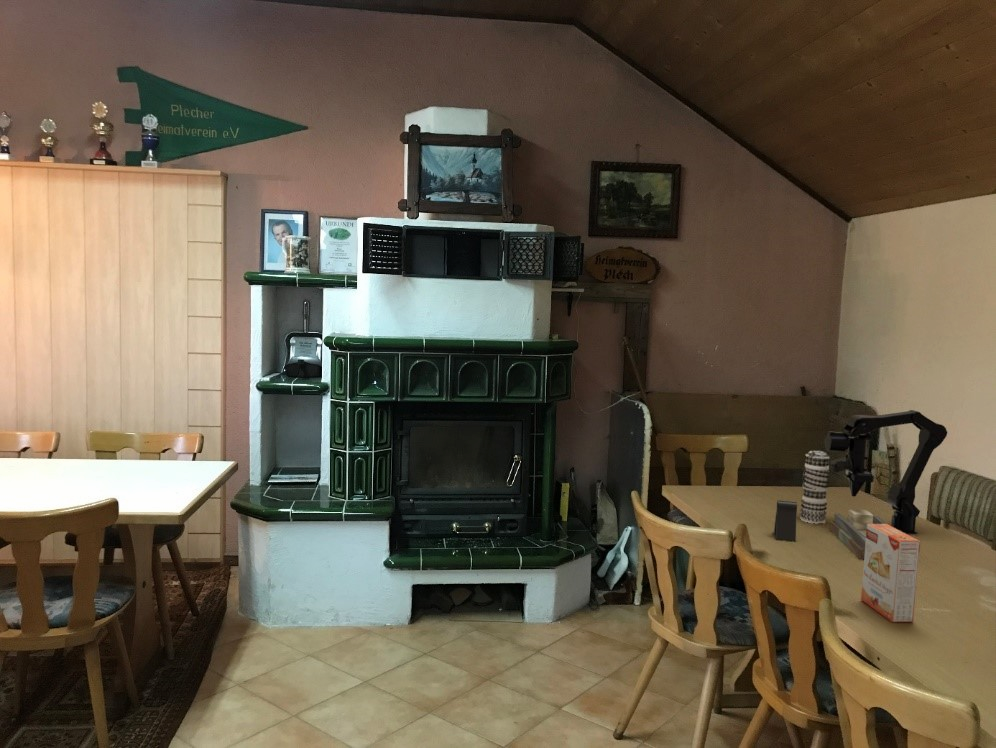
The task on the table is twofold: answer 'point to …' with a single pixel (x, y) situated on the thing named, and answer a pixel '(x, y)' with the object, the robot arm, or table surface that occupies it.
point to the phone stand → (785, 521)
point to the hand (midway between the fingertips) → (853, 496)
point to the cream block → (860, 518)
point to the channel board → (851, 534)
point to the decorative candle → (815, 487)
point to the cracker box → (890, 572)
